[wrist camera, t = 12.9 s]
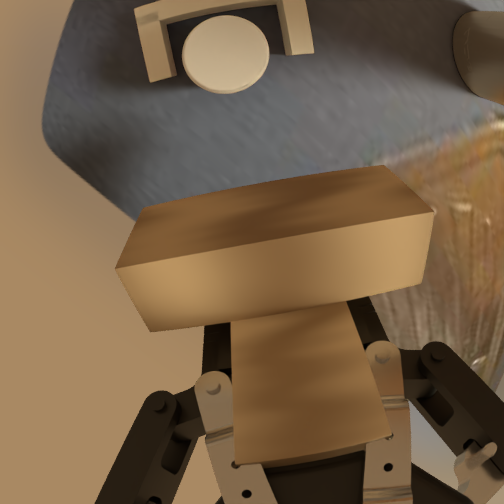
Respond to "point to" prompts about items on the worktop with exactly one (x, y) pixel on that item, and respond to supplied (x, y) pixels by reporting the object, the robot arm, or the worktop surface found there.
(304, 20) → the bay
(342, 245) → the scraper
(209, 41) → the pill bottle
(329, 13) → the worktop surface
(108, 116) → the worktop surface
